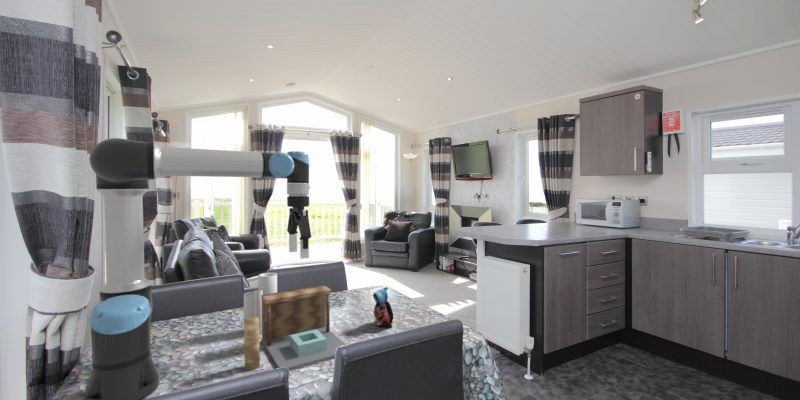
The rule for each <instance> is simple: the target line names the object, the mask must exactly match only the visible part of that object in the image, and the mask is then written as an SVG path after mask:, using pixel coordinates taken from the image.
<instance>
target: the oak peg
mask: <svg viewBox="0 0 800 400" xmlns="http://www.w3.org/2000/svg"><path fill="white" fill-rule="evenodd" d="M243 334H244V335H243V336H244V337H243V339H244V340H243V341H244V370H245V371H256V370H257V369H258V368H259V367H260V366H261V365H260V360H261V359H260V353H261V352H260V335H259V318H258V317H249V318H246V319H245V320H244V319H243ZM259 369H260V368H259Z"/></svg>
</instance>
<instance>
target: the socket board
mask: <svg viewBox="0 0 800 400" xmlns="http://www.w3.org/2000/svg"><path fill="white" fill-rule="evenodd" d="M261 343H262V344H263V346H264V348H265V350H266V351H267V352H268V355H269V356H270V358H271V359H272V361H273V363H274V364H275V366H276V368H277V369H278V368H280V367H287V368H288V369H289V371H288V372H290V371H294V370H297V369H301V368H304V367H308V366H311V365H316V364H318V363H323V362H326V361H329V360H333V359H336V358H335V351H336V348H337V347H338V346H341V345H347V344H346V343H345V342H344V341H342V340H341V338H339V337H338V336H337V335H336V334H334V332H332V331H331V330H330V332H326V327H323V328H319V329H314V330H310V331H305V332H301V333H296V334H292V335H287V336H283V337H278V338H274V339H271V346H267V340H265V341H262V340H261Z"/></svg>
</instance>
